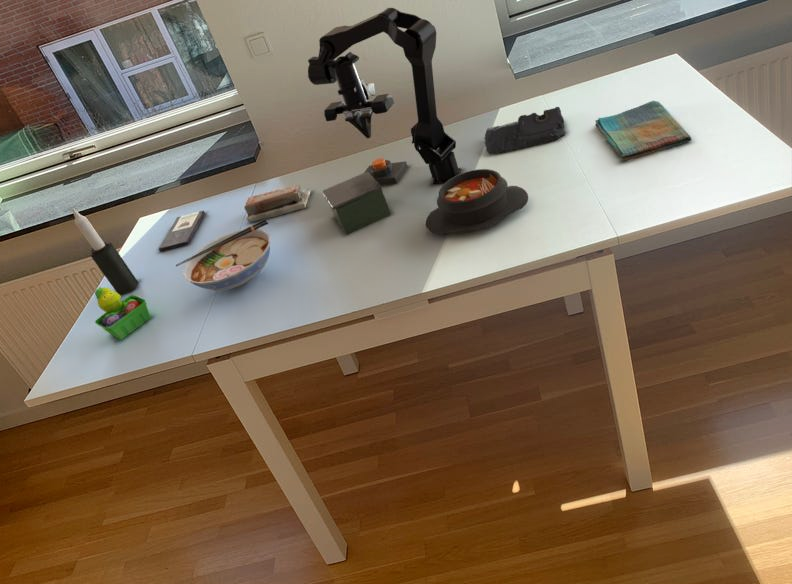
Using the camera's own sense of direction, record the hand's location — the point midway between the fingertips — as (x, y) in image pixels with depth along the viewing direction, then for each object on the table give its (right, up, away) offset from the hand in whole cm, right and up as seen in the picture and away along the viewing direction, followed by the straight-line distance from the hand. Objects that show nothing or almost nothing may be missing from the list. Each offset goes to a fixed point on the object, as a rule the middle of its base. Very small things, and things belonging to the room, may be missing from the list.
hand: (369, 137), depth 190 cm
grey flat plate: (-3, -17, -12) cm, 21 cm away
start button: (+2, -6, +6) cm, 9 cm away
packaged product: (-27, -17, +11) cm, 34 cm away
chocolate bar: (-57, -23, +18) cm, 64 cm away
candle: (-65, -41, 0) cm, 77 cm away
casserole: (+29, -26, -24) cm, 45 cm away
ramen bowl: (-31, -40, -14) cm, 52 cm away
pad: (+3, -9, +8) cm, 12 cm away
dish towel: (+70, -4, -15) cm, 71 cm away
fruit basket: (-57, -52, -17) cm, 79 cm away
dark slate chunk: (+43, +1, +2) cm, 43 cm away
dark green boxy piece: (-1, -23, -7) cm, 24 cm away
